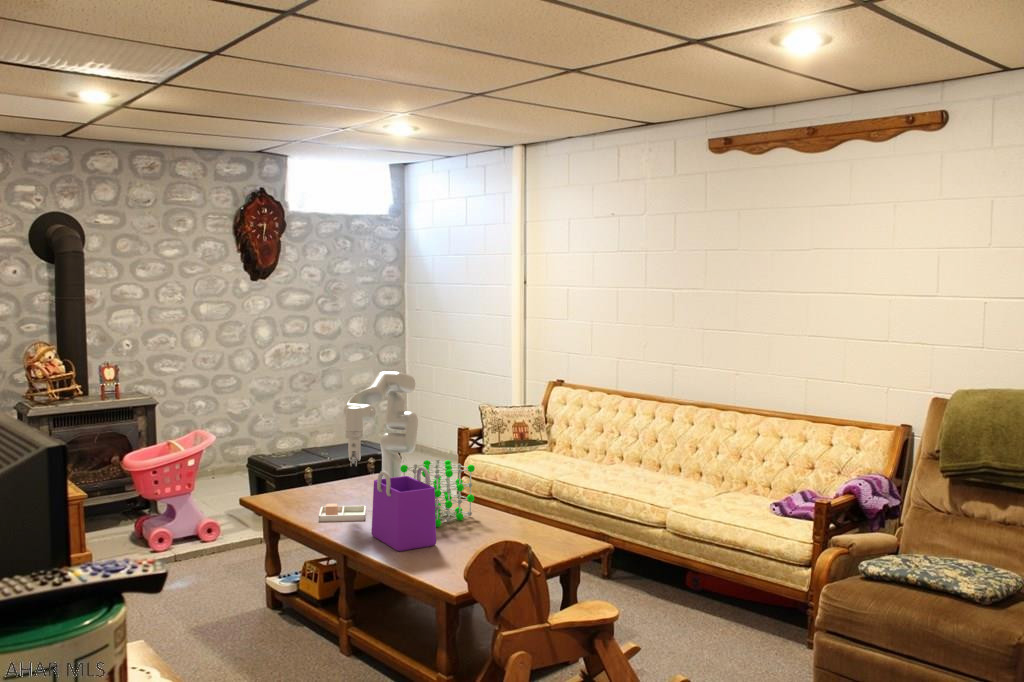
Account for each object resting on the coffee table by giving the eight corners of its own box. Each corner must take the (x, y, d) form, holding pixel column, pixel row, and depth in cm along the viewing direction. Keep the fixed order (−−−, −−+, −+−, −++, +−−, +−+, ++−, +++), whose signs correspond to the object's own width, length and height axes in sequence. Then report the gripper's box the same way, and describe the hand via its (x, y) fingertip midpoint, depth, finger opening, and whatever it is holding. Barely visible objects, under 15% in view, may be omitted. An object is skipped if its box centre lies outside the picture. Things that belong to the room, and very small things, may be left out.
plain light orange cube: (337, 514, 389) (337, 503, 389) (337, 517, 384) (337, 506, 384) (326, 514, 388) (326, 503, 388) (325, 517, 383) (325, 506, 383)
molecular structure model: (475, 517, 391) (476, 464, 390) (437, 528, 372) (437, 473, 370) (437, 507, 407) (438, 456, 405) (398, 518, 387) (398, 464, 386)
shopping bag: (361, 538, 356) (361, 466, 354) (403, 528, 371) (403, 459, 369) (403, 554, 336) (404, 478, 334) (446, 543, 351) (447, 470, 349)
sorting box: (365, 511, 396) (365, 505, 396) (365, 521, 381) (365, 514, 380) (321, 512, 393) (321, 506, 393) (318, 522, 378) (318, 515, 377)
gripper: (362, 437, 377) (362, 476, 378) (363, 431, 394) (362, 468, 395) (344, 438, 376) (344, 476, 377) (346, 431, 393) (346, 468, 394)
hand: (353, 472), depth 386 cm, fingers open, 9 cm apart
